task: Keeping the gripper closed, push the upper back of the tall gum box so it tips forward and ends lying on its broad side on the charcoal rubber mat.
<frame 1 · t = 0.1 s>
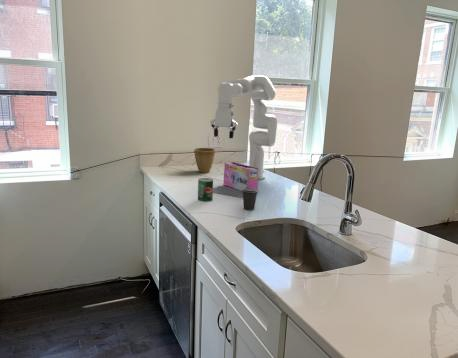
hand: (223, 137, 213), 31 cm above the worktop, tool pointing down, fingers open, 9 cm apart
plant pot: (204, 172, 270), on the worktop
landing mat: (230, 191, 219), on the worktop
dark tapered cylinder: (248, 209, 190), on the worktop
gum box: (239, 188, 229), on the worktop, touching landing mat
canned tomato: (205, 200, 202), on the worktop
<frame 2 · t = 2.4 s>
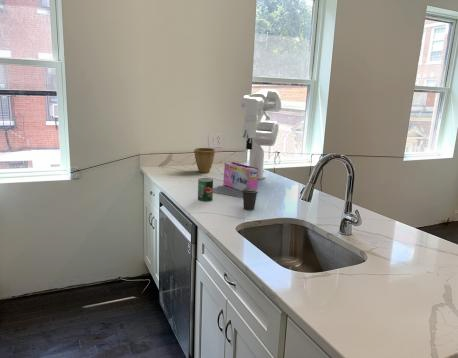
hand: (248, 149, 232), 22 cm above the worktop, tool pointing down, fingers closed
nothing on the worktop moved.
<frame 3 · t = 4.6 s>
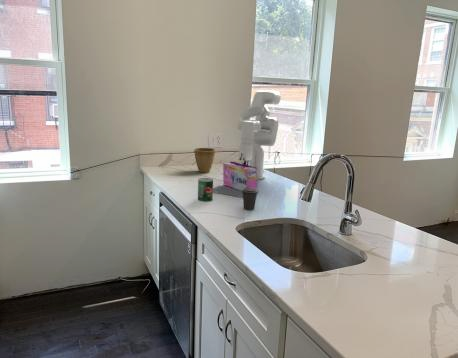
hand: (245, 171, 232), 9 cm above the worktop, tool pointing down, fingers closed
gum box: (239, 187, 229), on the worktop, touching gripper, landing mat
everything else where it was.
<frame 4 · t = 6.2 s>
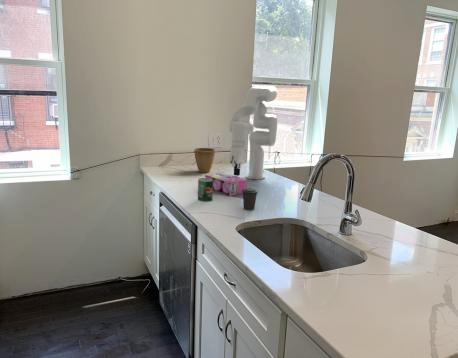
hand: (236, 175, 223), 9 cm above the worktop, tool pointing down, fingers closed
gum box: (235, 181, 226), point 4 cm above the worktop, touching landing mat
everything else where it was.
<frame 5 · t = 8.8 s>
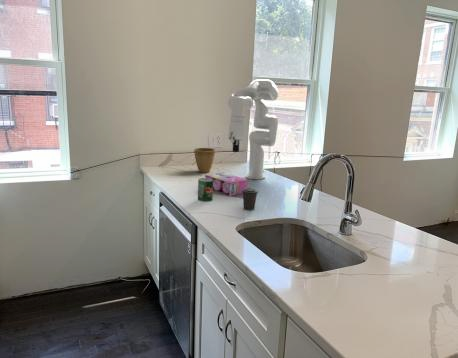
hand: (235, 151, 218), 23 cm above the worktop, tool pointing down, fingers closed
nothing on the worktop moved.
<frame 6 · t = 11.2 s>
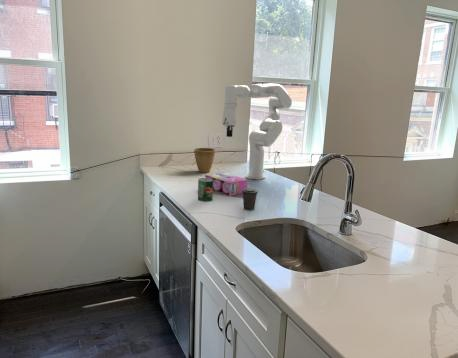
hand: (229, 136, 235), 29 cm above the worktop, tool pointing down, fingers closed
nothing on the worktop moved.
at the end: gum box tilted 90°; gum box touching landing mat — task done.
